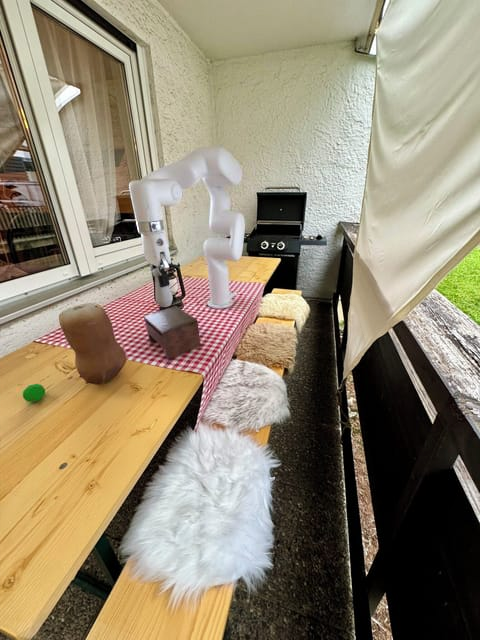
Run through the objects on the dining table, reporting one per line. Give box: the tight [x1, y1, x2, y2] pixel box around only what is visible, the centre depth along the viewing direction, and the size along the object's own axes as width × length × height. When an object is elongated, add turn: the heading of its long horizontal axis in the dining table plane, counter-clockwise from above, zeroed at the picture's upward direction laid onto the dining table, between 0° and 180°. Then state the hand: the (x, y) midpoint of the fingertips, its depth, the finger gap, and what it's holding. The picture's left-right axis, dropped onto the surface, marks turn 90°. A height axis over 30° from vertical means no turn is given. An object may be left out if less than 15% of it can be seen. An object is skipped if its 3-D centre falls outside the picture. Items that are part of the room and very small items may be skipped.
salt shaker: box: [151, 267, 174, 308], centre depth 87 cm, size 6×6×13 cm
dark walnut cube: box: [143, 305, 202, 361], centre depth 95 cm, size 13×16×11 cm
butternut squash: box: [58, 302, 127, 385], centre depth 75 cm, size 14×13×25 cm
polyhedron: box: [22, 383, 46, 403], centre depth 73 cm, size 5×5×5 cm
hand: (161, 283), depth 86 cm, fingers closed on salt shaker, 4 cm apart
